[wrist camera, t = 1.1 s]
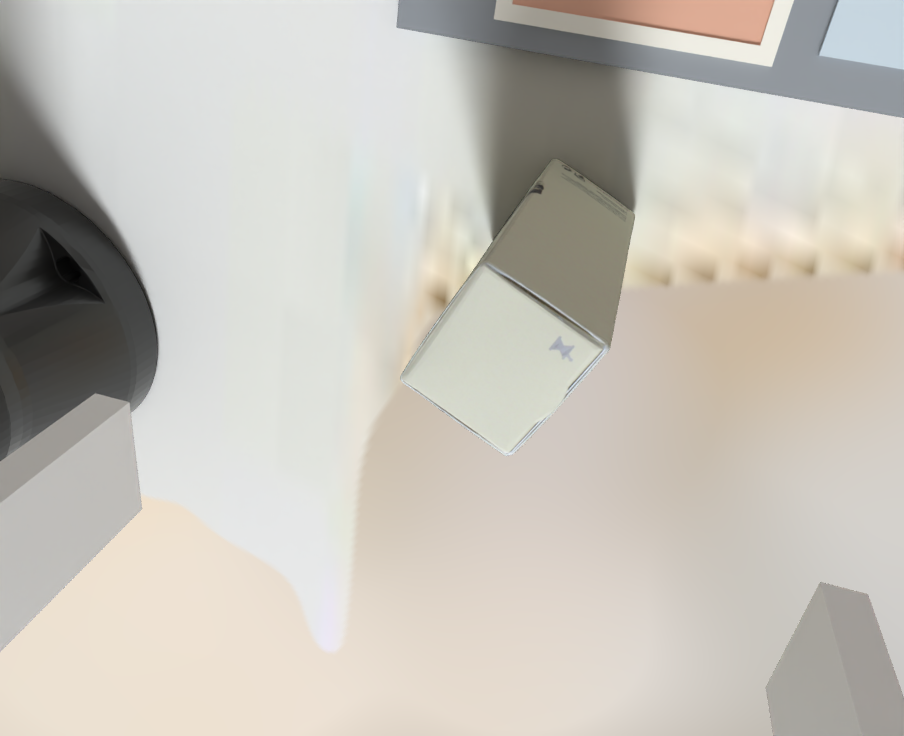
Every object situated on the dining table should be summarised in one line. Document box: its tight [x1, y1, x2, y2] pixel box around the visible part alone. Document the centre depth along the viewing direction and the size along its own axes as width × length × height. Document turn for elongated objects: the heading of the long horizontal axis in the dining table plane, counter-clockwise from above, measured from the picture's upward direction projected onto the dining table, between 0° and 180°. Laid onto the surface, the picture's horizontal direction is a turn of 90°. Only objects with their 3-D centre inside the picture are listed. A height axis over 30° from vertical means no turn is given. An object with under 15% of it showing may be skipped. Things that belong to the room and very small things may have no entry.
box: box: [400, 159, 635, 456], centre depth 26 cm, size 5×4×13 cm
